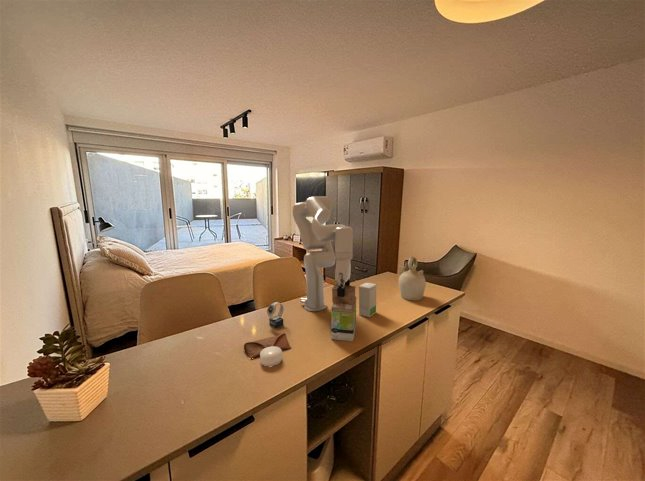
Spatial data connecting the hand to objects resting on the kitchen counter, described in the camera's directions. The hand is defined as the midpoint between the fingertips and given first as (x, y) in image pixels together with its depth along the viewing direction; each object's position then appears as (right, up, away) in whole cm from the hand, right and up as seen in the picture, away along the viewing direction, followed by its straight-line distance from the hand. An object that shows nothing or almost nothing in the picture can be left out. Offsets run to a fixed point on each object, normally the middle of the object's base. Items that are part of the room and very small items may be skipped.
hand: (343, 292), depth 116 cm
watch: (-32, -18, +10) cm, 38 cm away
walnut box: (0, -4, 0) cm, 4 cm away
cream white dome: (-29, -22, -17) cm, 40 cm away
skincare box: (+14, -15, +21) cm, 30 cm away
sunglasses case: (-31, -22, -10) cm, 39 cm away
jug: (+45, -11, +42) cm, 62 cm away
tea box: (0, -19, +3) cm, 19 cm away
